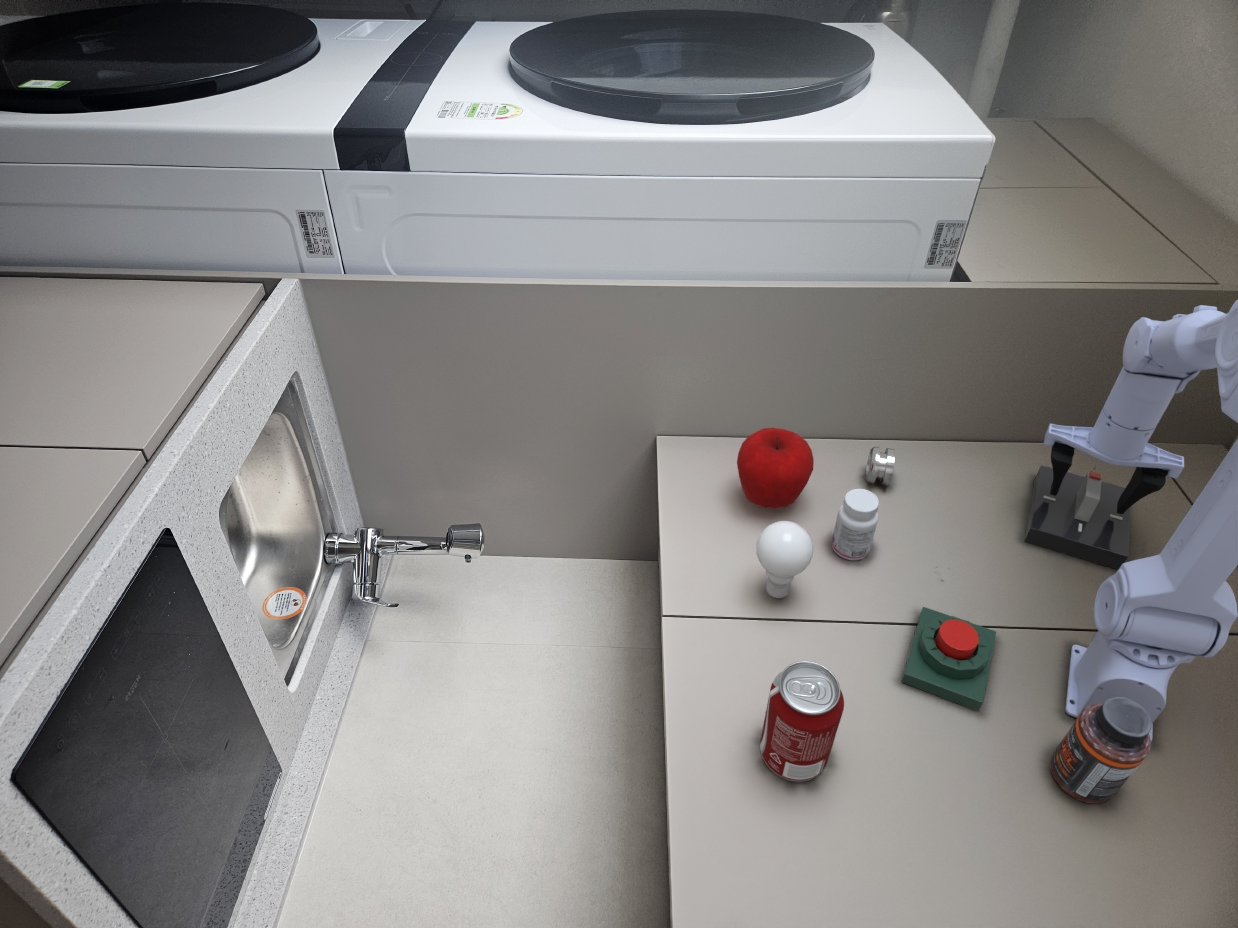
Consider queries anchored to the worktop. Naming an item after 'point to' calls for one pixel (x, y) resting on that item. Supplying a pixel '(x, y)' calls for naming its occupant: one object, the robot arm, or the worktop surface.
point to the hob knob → (1088, 496)
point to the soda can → (801, 721)
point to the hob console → (1078, 521)
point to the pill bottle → (855, 524)
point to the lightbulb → (783, 554)
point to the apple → (774, 467)
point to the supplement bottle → (1102, 749)
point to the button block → (948, 663)
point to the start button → (957, 639)
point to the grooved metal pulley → (880, 465)
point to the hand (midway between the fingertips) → (1086, 499)
